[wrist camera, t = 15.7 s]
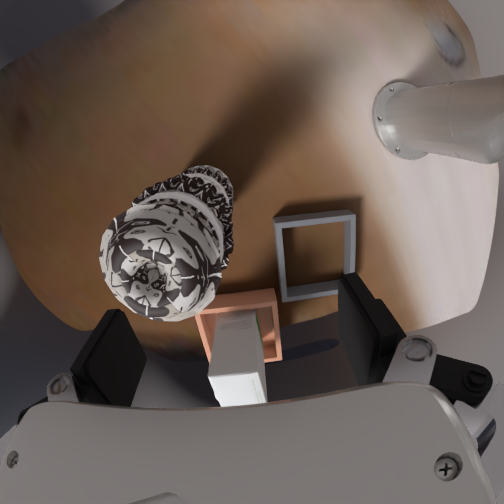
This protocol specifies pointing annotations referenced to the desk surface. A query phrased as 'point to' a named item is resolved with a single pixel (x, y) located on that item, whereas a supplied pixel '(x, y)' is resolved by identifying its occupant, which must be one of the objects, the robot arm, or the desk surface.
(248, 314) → the skincare box
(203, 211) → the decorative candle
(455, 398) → the robot arm
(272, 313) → the terracotta bin
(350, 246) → the frame
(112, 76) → the desk surface
